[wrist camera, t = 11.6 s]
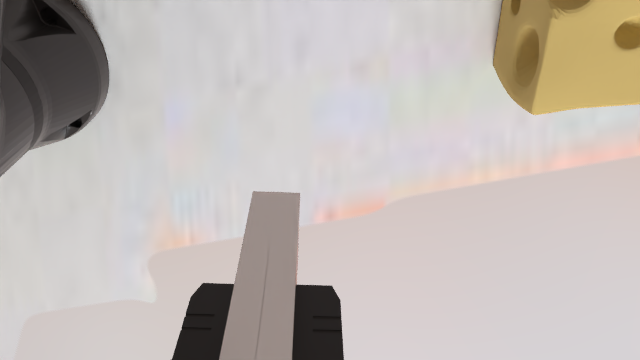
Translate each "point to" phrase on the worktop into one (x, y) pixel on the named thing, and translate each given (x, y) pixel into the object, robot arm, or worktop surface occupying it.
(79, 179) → the worktop surface
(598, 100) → the cheese
